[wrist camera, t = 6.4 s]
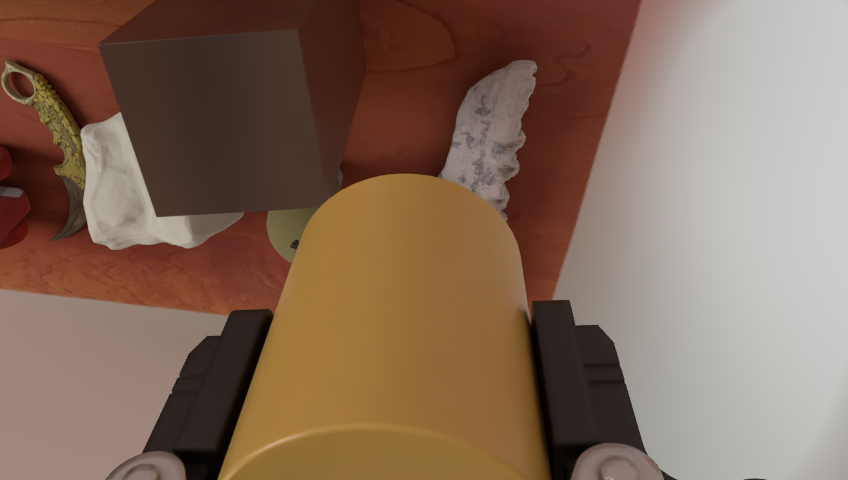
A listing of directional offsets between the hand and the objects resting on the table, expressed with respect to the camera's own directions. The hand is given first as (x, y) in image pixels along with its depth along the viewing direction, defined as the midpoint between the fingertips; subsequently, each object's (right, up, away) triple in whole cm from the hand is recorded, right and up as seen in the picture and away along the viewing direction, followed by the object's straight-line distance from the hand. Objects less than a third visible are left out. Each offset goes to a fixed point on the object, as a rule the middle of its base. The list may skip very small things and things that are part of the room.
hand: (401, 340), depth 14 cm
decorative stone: (-18, +8, +36) cm, 41 cm away
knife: (-29, +8, +36) cm, 46 cm away
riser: (-8, +16, +30) cm, 35 cm away
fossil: (+4, +6, +37) cm, 37 cm away
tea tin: (0, +1, +2) cm, 2 cm away
